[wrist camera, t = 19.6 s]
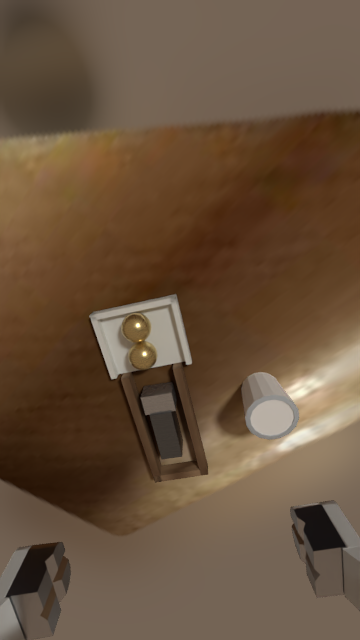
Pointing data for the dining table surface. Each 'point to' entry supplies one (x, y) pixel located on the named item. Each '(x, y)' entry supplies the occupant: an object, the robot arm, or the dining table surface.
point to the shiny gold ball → (136, 327)
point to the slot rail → (146, 438)
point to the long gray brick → (163, 418)
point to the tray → (163, 336)
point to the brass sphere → (143, 355)
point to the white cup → (268, 407)
